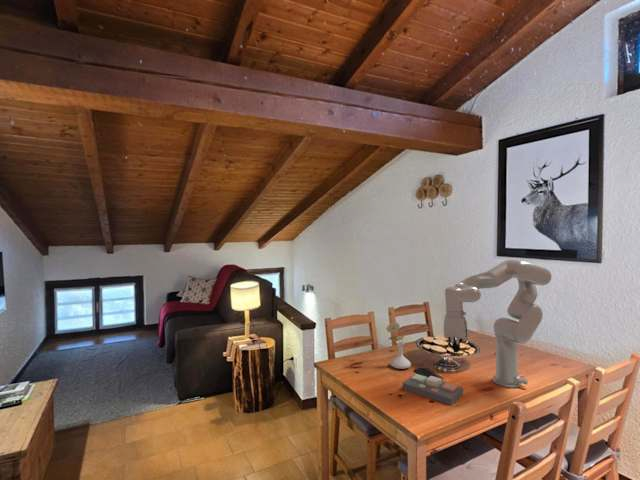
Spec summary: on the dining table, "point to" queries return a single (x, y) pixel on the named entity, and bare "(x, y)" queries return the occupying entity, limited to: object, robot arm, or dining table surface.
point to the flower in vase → (399, 359)
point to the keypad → (432, 391)
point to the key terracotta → (450, 387)
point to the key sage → (419, 378)
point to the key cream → (434, 381)
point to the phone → (426, 372)
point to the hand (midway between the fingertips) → (456, 351)
